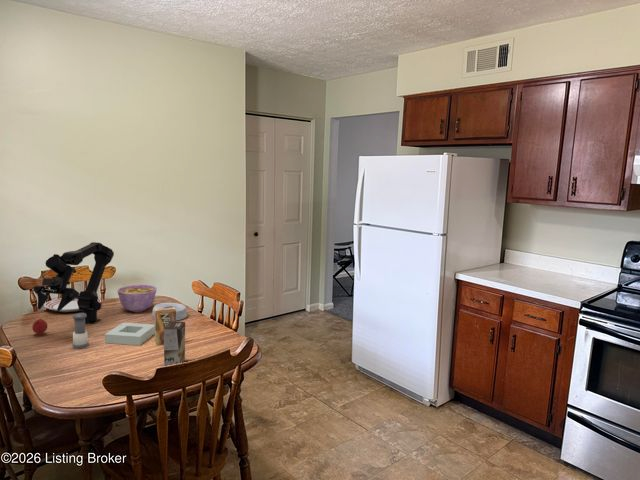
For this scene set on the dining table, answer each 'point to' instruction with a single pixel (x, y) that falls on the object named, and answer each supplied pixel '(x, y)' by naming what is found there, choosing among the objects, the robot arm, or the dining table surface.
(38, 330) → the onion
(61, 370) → the dining table surface
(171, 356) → the coffee box
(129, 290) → the bowl of food
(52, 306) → the dinner plate
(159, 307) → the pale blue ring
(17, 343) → the dining table surface
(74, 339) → the pepper grinder
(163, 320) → the candy box
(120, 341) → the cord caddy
